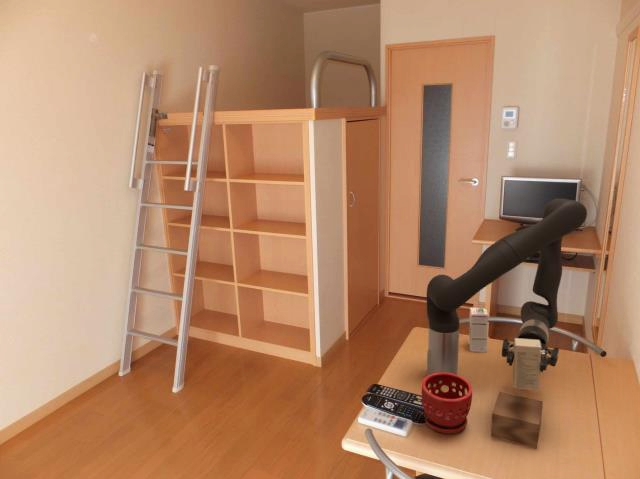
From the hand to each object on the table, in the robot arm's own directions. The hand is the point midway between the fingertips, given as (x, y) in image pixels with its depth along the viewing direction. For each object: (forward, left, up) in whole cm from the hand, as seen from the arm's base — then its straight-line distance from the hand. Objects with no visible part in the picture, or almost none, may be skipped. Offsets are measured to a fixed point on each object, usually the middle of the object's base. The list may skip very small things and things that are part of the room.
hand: (525, 365), depth 121 cm
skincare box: (0, +2, -7) cm, 7 cm away
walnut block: (-1, +1, -20) cm, 20 cm away
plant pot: (-19, -1, -20) cm, 28 cm away
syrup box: (-12, +45, -20) cm, 51 cm away
